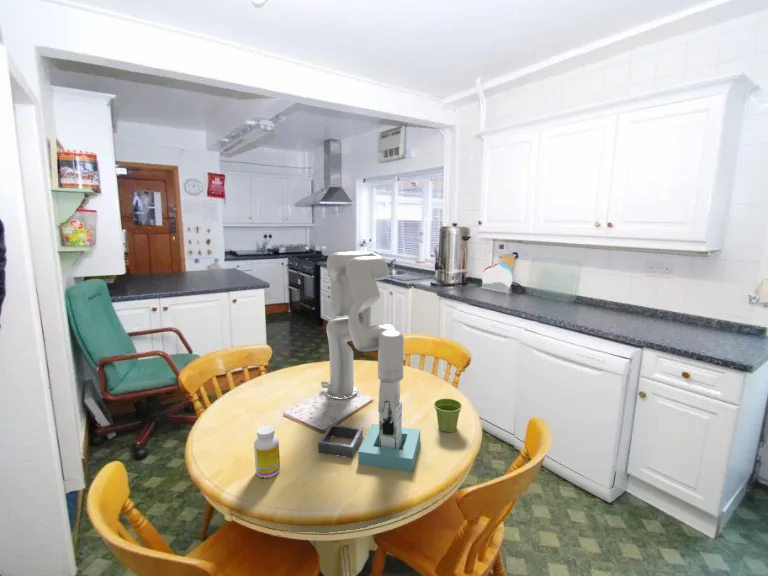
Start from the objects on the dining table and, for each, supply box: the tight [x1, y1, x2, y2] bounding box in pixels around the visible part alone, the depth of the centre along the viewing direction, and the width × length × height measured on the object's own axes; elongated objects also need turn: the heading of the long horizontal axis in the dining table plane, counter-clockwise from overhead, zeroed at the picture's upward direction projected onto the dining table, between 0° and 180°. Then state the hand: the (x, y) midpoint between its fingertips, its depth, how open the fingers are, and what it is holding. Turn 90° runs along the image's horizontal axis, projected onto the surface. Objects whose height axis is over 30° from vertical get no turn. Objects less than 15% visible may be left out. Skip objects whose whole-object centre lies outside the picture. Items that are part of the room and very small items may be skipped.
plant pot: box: [433, 398, 463, 433], centre depth 134 cm, size 9×9×9 cm
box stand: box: [317, 424, 364, 459], centre depth 124 cm, size 11×11×4 cm
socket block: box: [357, 423, 421, 473], centre depth 120 cm, size 16×16×4 cm
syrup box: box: [378, 401, 403, 450], centre depth 119 cm, size 6×6×14 cm
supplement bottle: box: [253, 425, 281, 479], centre depth 110 cm, size 7×7×13 cm
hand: (390, 427), depth 120 cm, fingers closed on syrup box, 6 cm apart
